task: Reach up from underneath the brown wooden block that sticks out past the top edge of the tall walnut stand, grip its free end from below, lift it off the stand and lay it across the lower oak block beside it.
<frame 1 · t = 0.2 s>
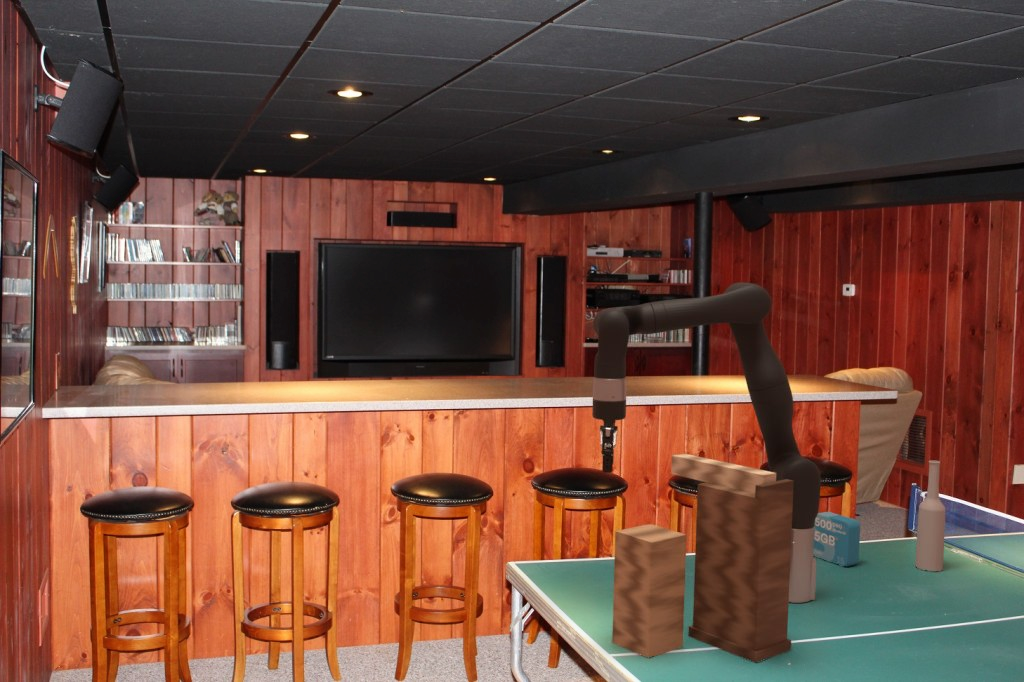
hand: (607, 468, 222), 31 cm above the table, tool pointing down, fingers open, 8 cm apart
bottle: (928, 568, 254), on the table
data package: (834, 561, 259), on the table
brown wooden block: (721, 483, 203), point 32 cm above the table, touching tall walnut stand
tall walnut stand: (738, 642, 201), on the table
low oak block: (647, 644, 199), on the table
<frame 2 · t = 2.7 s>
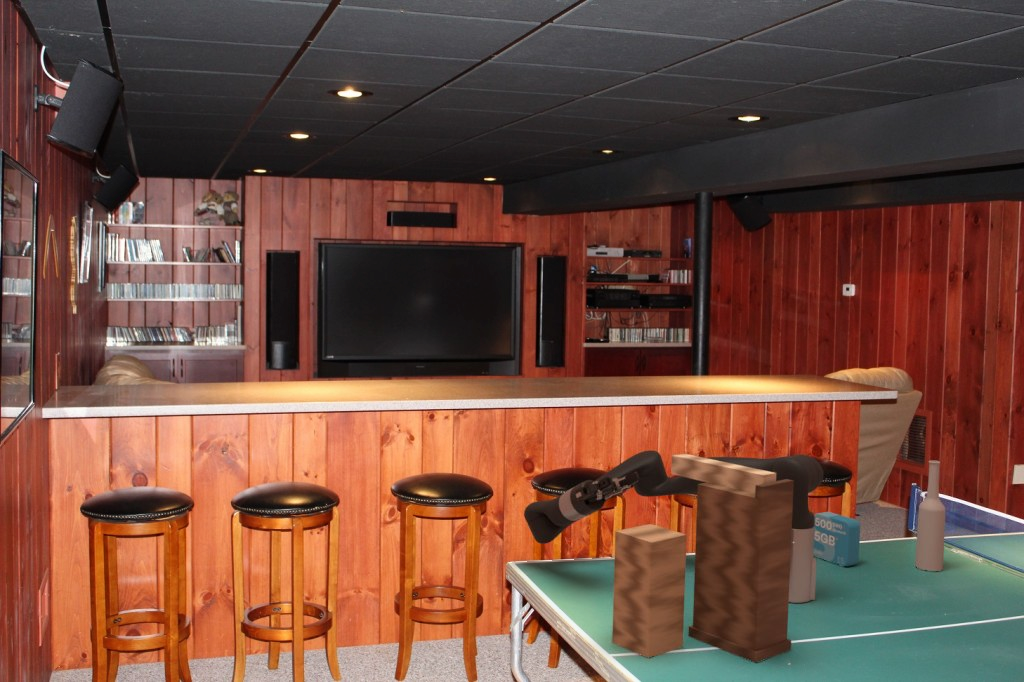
hand: (624, 478, 224), 28 cm above the table, tool pointing upward, fingers open, 8 cm apart
nothing on the table moved.
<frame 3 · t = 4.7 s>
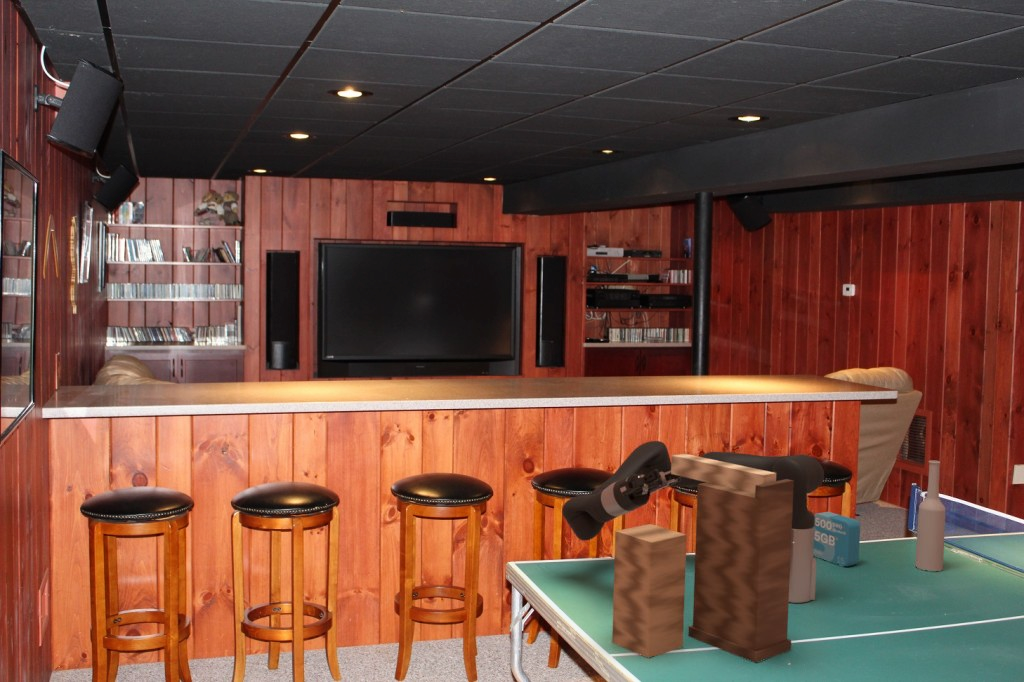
hand: (672, 471, 214), 32 cm above the table, tool pointing upward, fingers open, 8 cm apart
nothing on the table moved.
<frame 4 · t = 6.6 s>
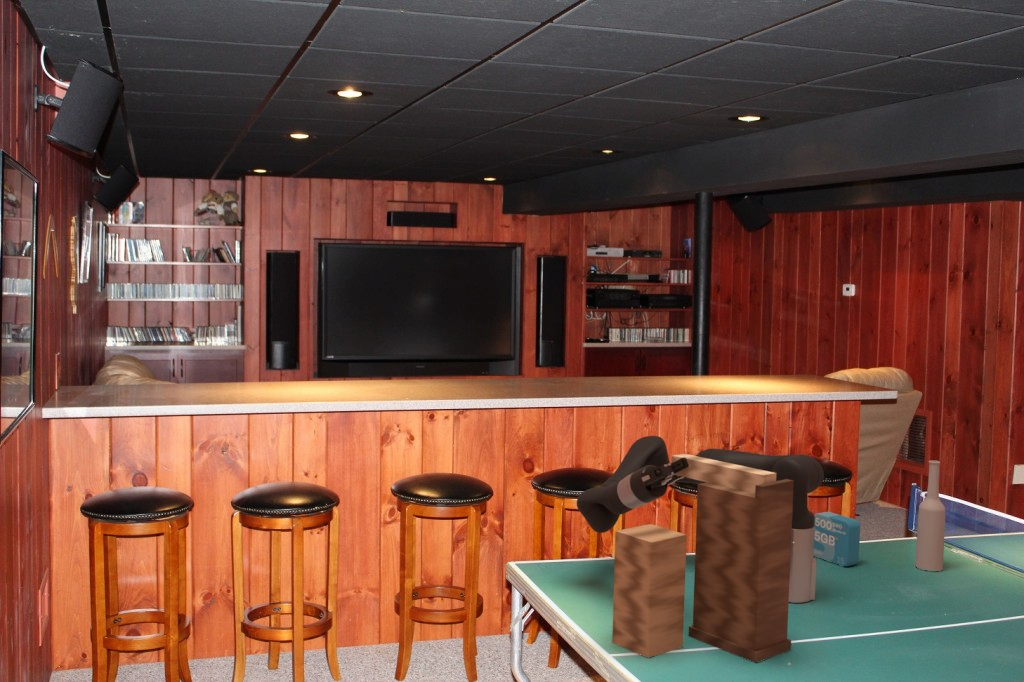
hand: (693, 460, 209), 35 cm above the table, tool pointing upward, fingers closed on brown wooden block, 4 cm apart
brown wooden block: (721, 483, 203), point 32 cm above the table, touching gripper, tall walnut stand
everything else where it was.
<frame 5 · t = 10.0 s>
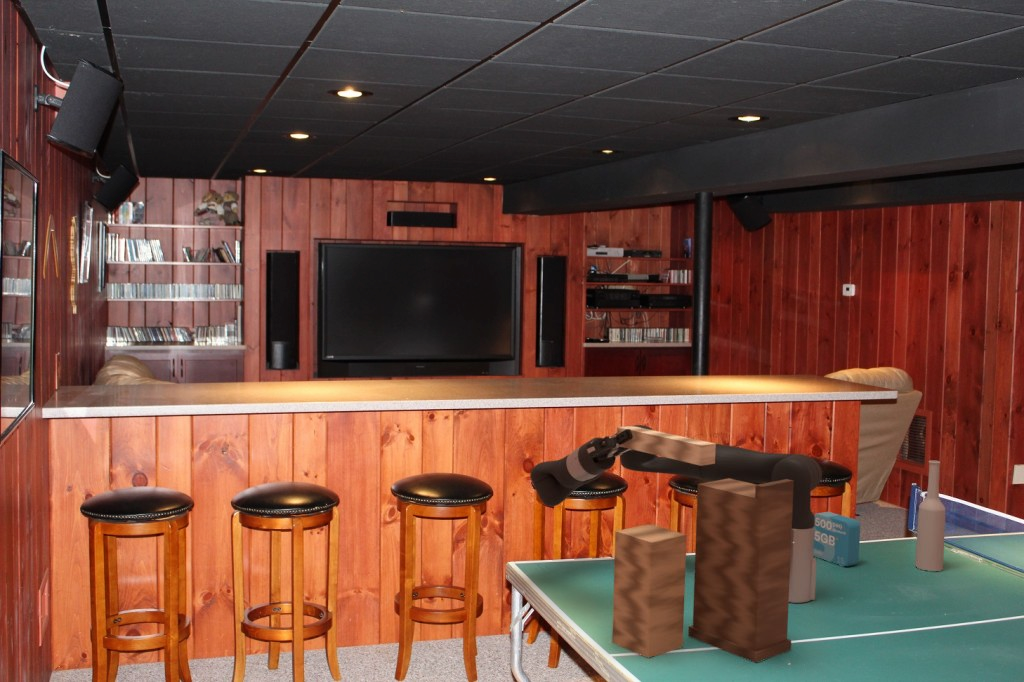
hand: (638, 432, 208), 41 cm above the table, tool pointing upward, fingers closed on brown wooden block, 4 cm apart
brown wooden block: (663, 454, 203), point 38 cm above the table, touching gripper
everything else where it was.
when the fingers open (27 cm above the table, at t = 13.7 s): brown wooden block stays where it is, resting on low oak block.
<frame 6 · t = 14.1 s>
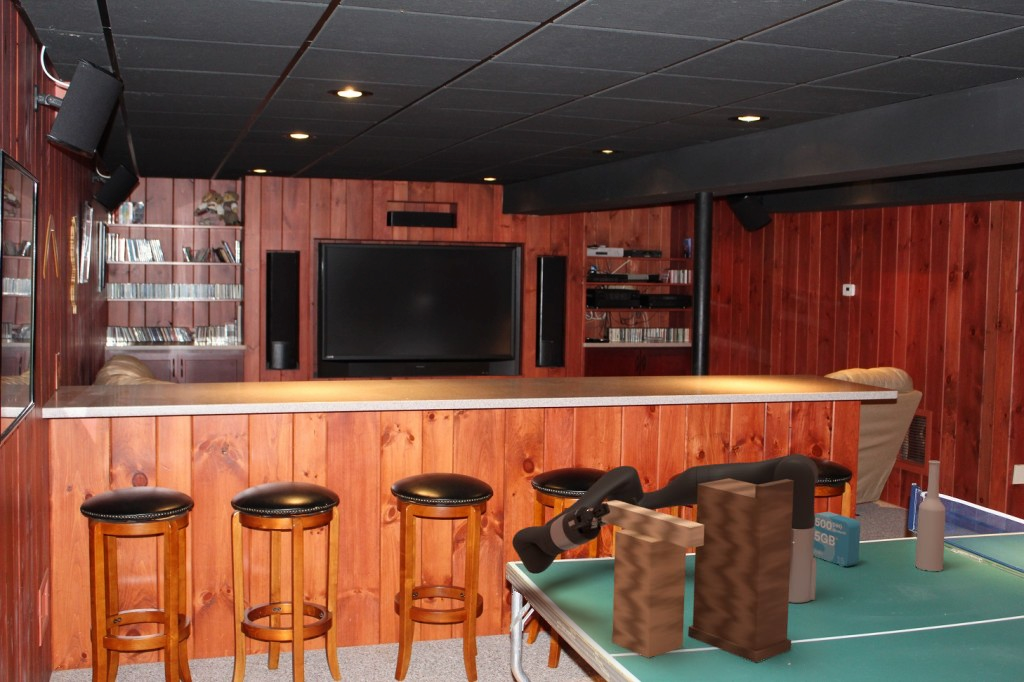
hand: (622, 504, 203), 27 cm above the table, tool pointing upward, fingers open, 8 cm apart
brown wooden block: (650, 532, 197), point 23 cm above the table, touching low oak block
everything else where it was.
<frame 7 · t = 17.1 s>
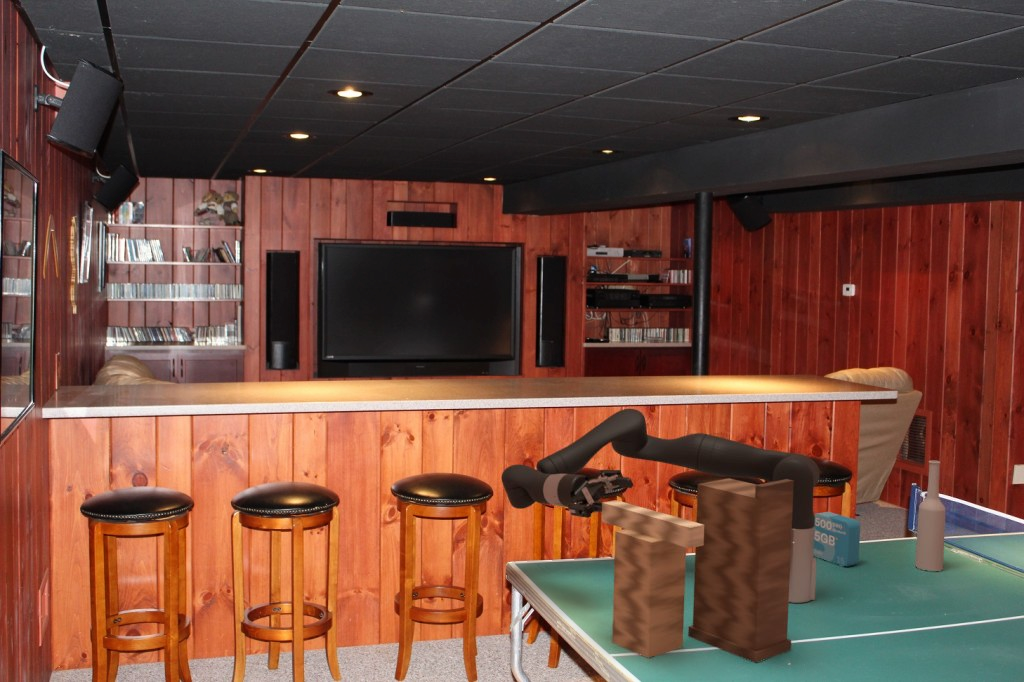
hand: (620, 494, 213), 27 cm above the table, tool horizontal, fingers open, 8 cm apart
nothing on the table moved.
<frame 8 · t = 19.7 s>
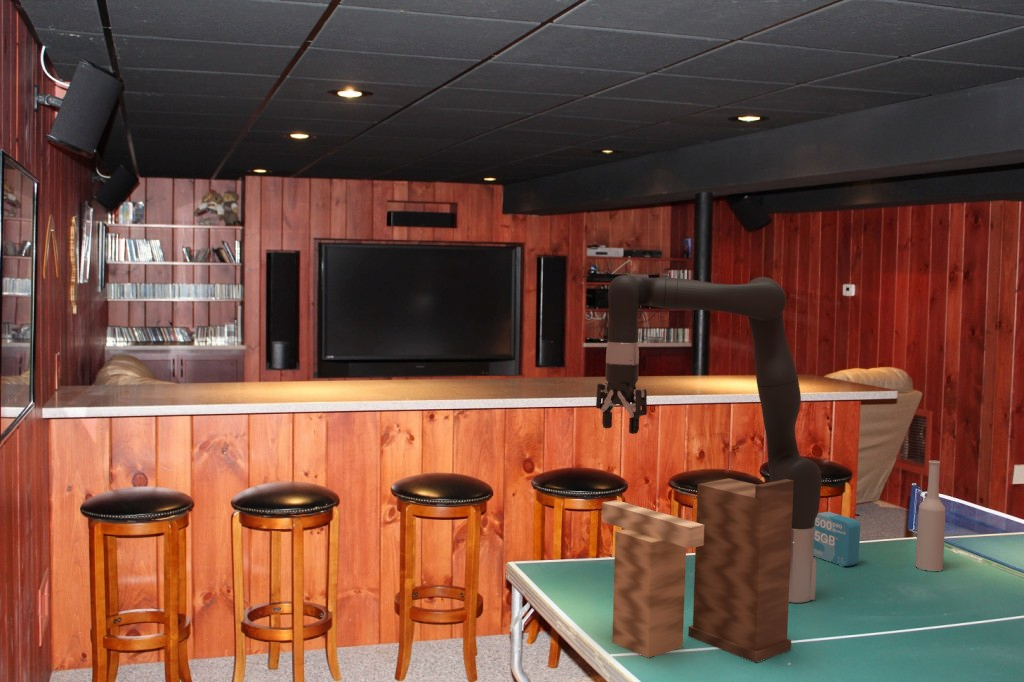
hand: (620, 430, 229), 38 cm above the table, tool pointing down, fingers open, 8 cm apart
nothing on the table moved.
at the end: brown wooden block inside the target area on the low oak block (0.1 cm from its centre), point 23.0 cm above the low oak block's base; the gripper is holding nothing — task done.
